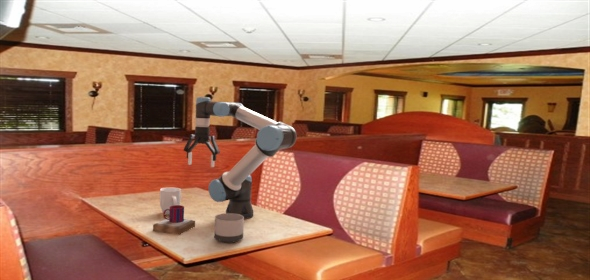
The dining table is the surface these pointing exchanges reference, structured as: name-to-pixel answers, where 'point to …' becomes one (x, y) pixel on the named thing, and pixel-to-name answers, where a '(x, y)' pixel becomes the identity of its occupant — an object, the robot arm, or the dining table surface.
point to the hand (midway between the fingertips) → (201, 165)
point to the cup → (175, 214)
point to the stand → (173, 226)
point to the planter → (229, 227)
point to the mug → (169, 198)
